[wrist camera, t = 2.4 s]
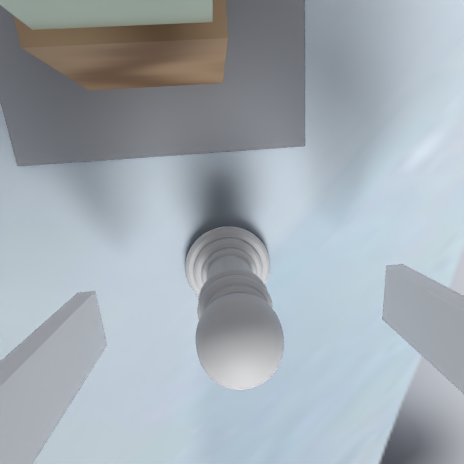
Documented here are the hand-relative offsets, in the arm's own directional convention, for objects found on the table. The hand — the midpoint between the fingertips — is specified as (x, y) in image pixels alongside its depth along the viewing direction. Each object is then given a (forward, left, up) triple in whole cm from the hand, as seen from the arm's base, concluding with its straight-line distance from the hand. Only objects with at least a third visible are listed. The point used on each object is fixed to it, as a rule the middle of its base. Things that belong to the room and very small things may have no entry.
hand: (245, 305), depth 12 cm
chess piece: (0, 0, -6) cm, 6 cm away
